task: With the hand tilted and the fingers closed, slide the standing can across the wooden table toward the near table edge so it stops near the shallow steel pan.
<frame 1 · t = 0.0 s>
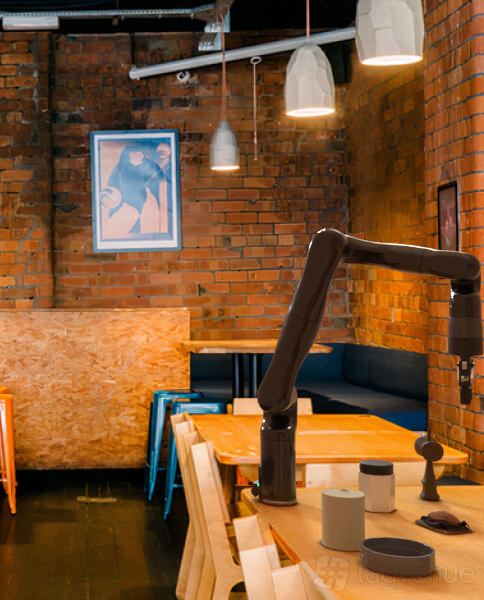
hand: (466, 402, 192), 29 cm above the table, tool pointing down, fingers open, 8 cm apart
can: (343, 545, 176), on the table
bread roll: (442, 528, 189), on the table
kendama: (429, 499, 216), on the table
jar: (376, 509, 207), on the table
pan: (397, 566, 161), on the table
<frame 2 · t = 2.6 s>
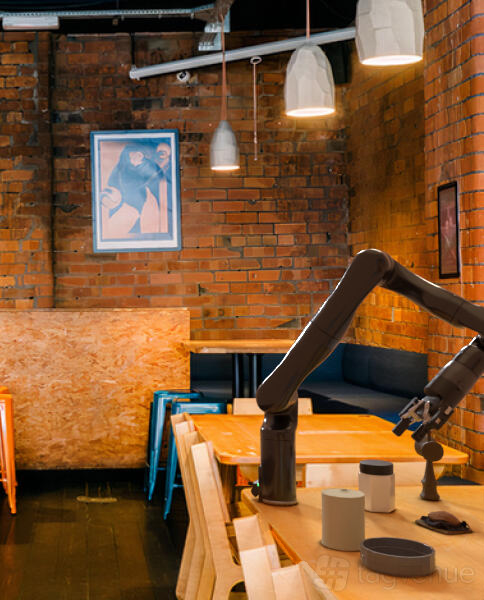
hand: (404, 436, 182), 23 cm above the table, tool tilted 45°, fingers open, 8 cm apart
nothing on the table moved.
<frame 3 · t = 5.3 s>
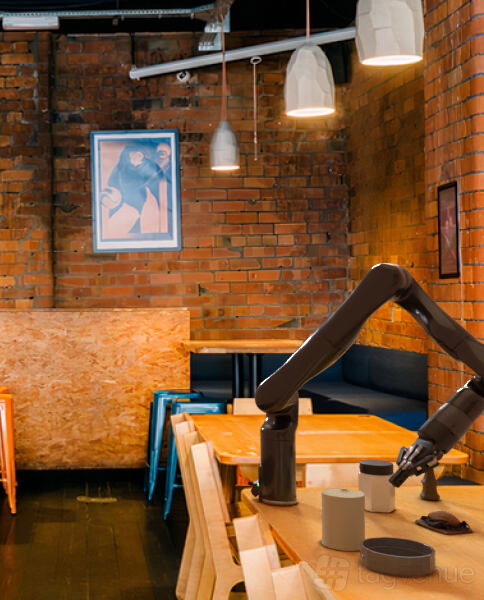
hand: (392, 484, 177), 13 cm above the table, tool tilted 45°, fingers closed
nothing on the table moved.
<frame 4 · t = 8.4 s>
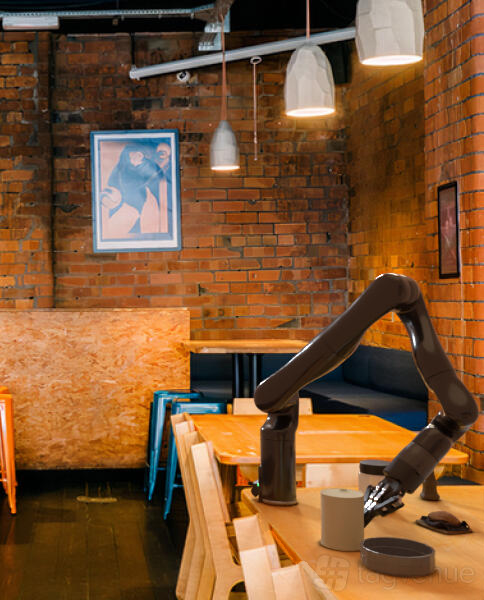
hand: (358, 524, 176), 4 cm above the table, tool tilted 45°, fingers closed
can: (342, 545, 176), on the table, touching gripper
everything else where it was.
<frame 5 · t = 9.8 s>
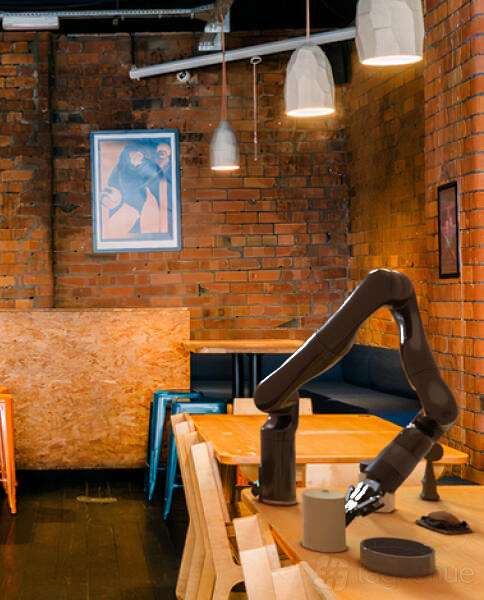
hand: (339, 525, 175), 5 cm above the table, tool tilted 45°, fingers closed
can: (324, 547, 175), on the table, touching gripper
everything else where it was.
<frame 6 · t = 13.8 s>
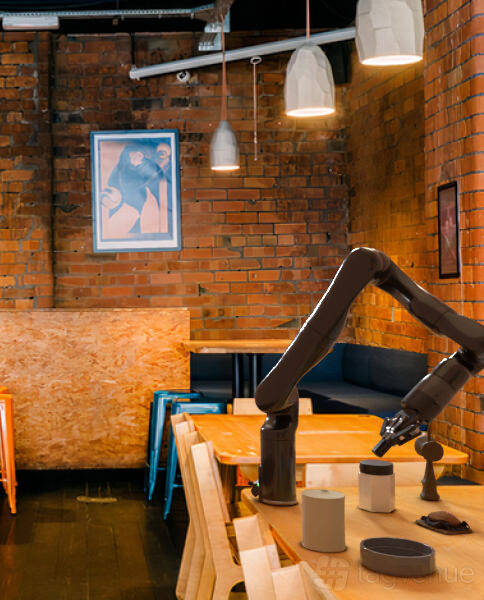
hand: (375, 454, 177), 20 cm above the table, tool tilted 45°, fingers closed
can: (323, 547, 175), on the table
everything else where it was.
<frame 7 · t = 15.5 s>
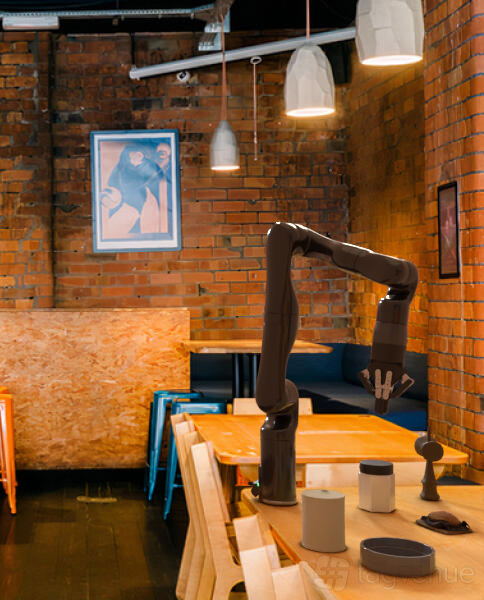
hand: (381, 414, 189), 27 cm above the table, tool pointing down, fingers closed
nothing on the table moved.
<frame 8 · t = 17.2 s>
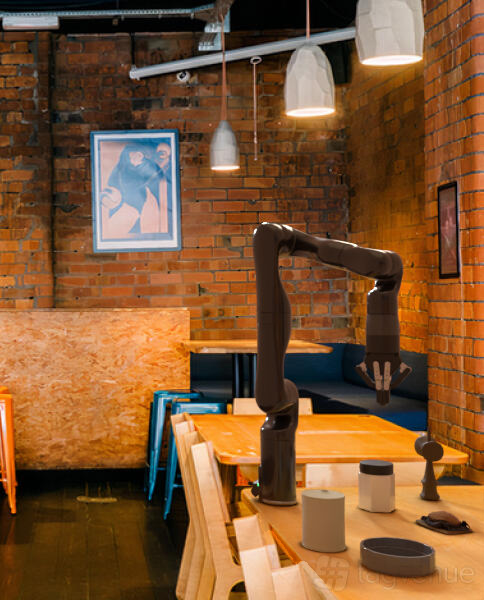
hand: (383, 405, 190), 29 cm above the table, tool pointing down, fingers closed
nothing on the table moved.
at the end: can inside the target area (3.2 cm from its centre), on the table; can moved 4.8 cm from its start; can tilted 0° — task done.
